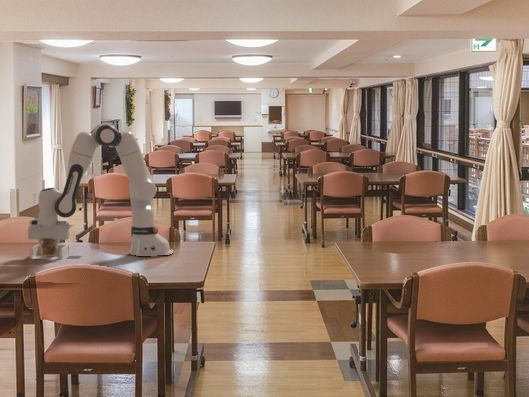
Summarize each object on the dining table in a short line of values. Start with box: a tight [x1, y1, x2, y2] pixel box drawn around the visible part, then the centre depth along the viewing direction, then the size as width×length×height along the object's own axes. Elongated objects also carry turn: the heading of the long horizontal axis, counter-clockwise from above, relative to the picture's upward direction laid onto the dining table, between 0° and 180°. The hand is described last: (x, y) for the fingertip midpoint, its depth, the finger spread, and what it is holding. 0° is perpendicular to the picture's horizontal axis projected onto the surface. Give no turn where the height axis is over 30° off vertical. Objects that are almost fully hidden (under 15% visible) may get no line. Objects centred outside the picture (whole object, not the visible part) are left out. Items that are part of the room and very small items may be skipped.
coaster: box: [65, 255, 83, 260], centre depth 363 cm, size 6×6×1 cm
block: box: [42, 238, 57, 255], centre depth 364 cm, size 5×5×8 cm
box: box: [29, 243, 70, 260], centre depth 365 cm, size 16×11×6 cm
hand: (49, 248), depth 364 cm, fingers closed on block, 5 cm apart
